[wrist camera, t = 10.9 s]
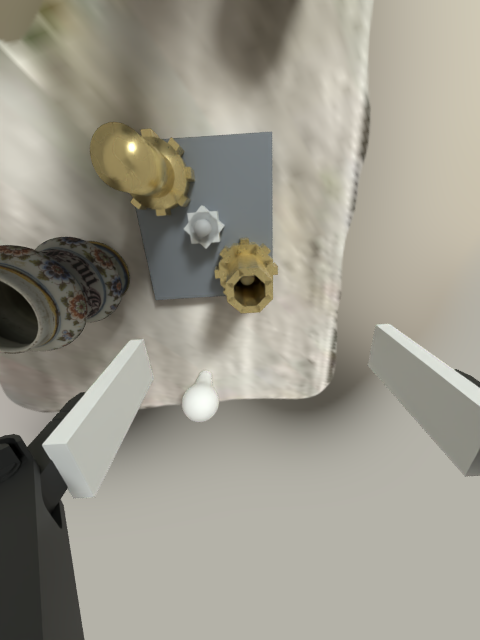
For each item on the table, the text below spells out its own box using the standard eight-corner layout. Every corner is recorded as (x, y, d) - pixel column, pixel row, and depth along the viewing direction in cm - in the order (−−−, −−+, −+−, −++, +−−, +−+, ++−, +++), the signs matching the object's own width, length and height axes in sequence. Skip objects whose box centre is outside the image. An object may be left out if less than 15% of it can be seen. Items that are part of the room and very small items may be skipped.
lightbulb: (211, 389, 48) (204, 435, 38) (185, 376, 47) (171, 420, 37) (227, 369, 46) (224, 412, 36) (200, 355, 45) (190, 395, 35)
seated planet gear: (118, 139, 29) (47, 94, 18) (189, 134, 29) (161, 85, 18) (135, 217, 33) (85, 218, 22) (199, 213, 33) (180, 212, 22)
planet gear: (213, 239, 34) (202, 251, 23) (274, 235, 34) (292, 245, 23) (219, 297, 38) (212, 331, 27) (274, 294, 38) (290, 326, 27)
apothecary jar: (53, 228, 35) (-106, 239, 19) (135, 240, 36) (51, 261, 20) (66, 302, 40) (-52, 363, 24) (137, 311, 41) (72, 376, 25)
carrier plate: (127, 146, 31) (89, 121, 23) (269, 136, 31) (282, 108, 23) (159, 296, 40) (139, 316, 32) (270, 289, 40) (280, 308, 31)
